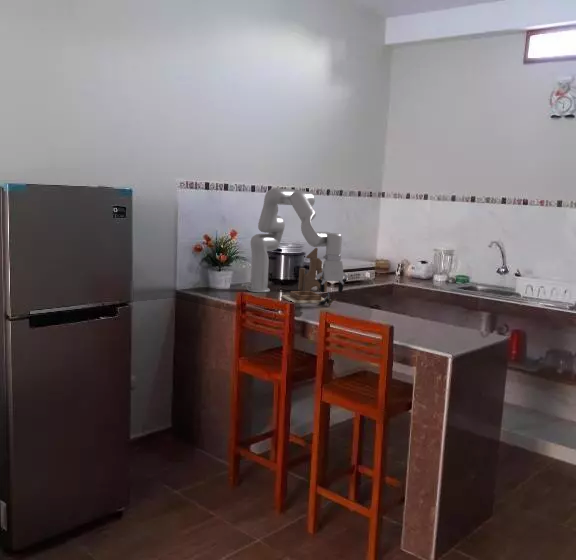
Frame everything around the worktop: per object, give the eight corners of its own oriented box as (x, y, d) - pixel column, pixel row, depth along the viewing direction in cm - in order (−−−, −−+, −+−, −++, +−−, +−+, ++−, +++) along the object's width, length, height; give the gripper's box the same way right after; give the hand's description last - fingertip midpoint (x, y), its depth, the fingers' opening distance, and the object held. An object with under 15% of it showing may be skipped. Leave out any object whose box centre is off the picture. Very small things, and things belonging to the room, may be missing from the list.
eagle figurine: (339, 304, 318) (331, 297, 326) (334, 293, 315) (326, 286, 323) (327, 312, 317) (319, 305, 325) (321, 301, 314) (314, 294, 321)
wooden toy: (322, 290, 368) (325, 247, 364) (326, 292, 361) (329, 248, 358) (297, 289, 363) (300, 246, 359) (301, 291, 357) (303, 247, 353)
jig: (293, 303, 319) (293, 296, 319) (281, 296, 336) (281, 290, 336) (329, 303, 326) (330, 296, 326) (316, 296, 343) (316, 290, 342)
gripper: (319, 258, 309) (318, 293, 311) (352, 259, 314) (350, 293, 317) (314, 257, 316) (312, 291, 318) (345, 257, 321) (343, 290, 324)
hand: (331, 292), depth 317 cm, fingers open, 9 cm apart
